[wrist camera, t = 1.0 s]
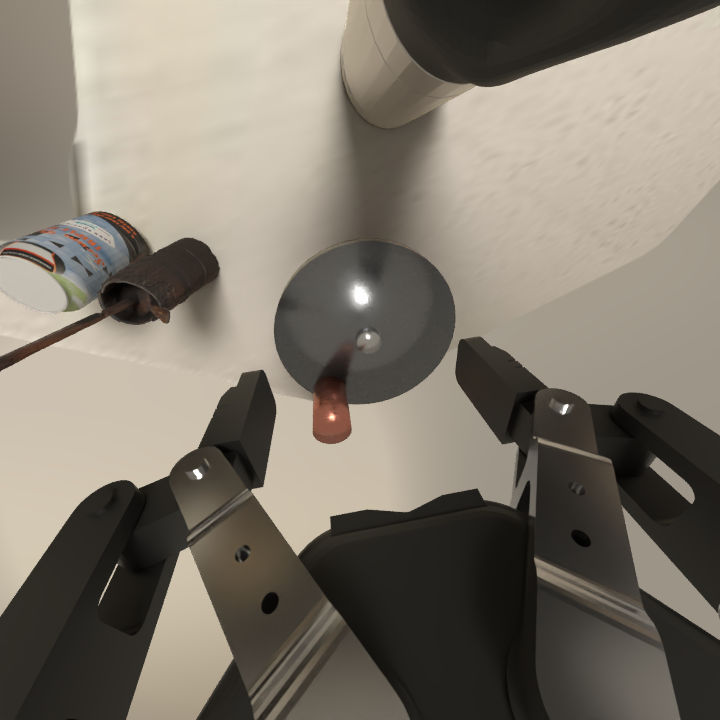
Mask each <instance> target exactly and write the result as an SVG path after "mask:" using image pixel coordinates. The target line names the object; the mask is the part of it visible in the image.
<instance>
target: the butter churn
mask: <svg viewBox="0 0 720 720" xmlns="http://www.w3.org/2000/svg"><path fill="white" fill-rule="evenodd" d="M217 264H218V262H217V260H216V257H215V256H214V255H213V254H212V252H211V250H210V248H209V247H208V246H207V245H206V244H204V243H203V242H201V241H198V240H196V239H193V238H183V239H180V240H178V241H176V242H174V243H172V244H170V245H169V246H167V247H165V248H163V249H160V250H158V251H157V252H155V253H154V254H153V255H148V256H144V257H142V258H140V259H138V260H137V261H136V262H133V263H132V264H129V265H128V266H126V267H125V268H123V269H121V270H119V271H118V272H117V273H115V274H114V275H112V276H111V277H109V278H108V279H107V280H106V281H105V282H104V283H103V284H102V288H101V289H100V291H98V292H97V294H98V296H99V302H100V306H101V308H102V309H103V310H102V313H95V314H93V315H90V316H88V317H86V318H84V319H82V320H80V321H77V322H75V323H73V324H71V325H69V326H66V327H64V328H62V329H60V330H58V331H56V332H53V333H51V334H49V335H47V336H45V337H43V338H41V339H38V340H36V341H34V342H32V343H30V344H27V345H25V346H23V347H21V348H19V349H17V350H14V351H12V352H10V353H8V354H5V355H3V356H1V357H0V371H1V370H3V369H5V368H7V367H9V366H12V365H13V364H15V363H17V362H19V361H21V360H23V359H24V358H26V357H28V356H30V355H32V354H34V353H35V352H38V351H40V350H41V349H44V348H46V347H48V346H50V345H52V344H54V343H56V342H59V341H60V340H62V339H64V338H66V337H69V336H70V335H73V334H75V333H77V332H78V331H81V330H82V329H84V328H87V327H89V326H91V325H93V324H95V323H97V322H99V321H101V320H102V319H104V318H106V317H108V316H111V317H112V318H113V319H115V320H117V321H119V322H124V323H127V324H133V325H140V324H145V323H147V322H150V321H151V320H152V321H156V320H157V319H158V318H159V319H160V320H161V321H162V322H163V323H166V324H167V323H169V320H170V311H169V310H172V309H173V308H174V307H176V306H177V305H178V304H181V303H183V302H184V301H185V300H186V299H187V298H188V297H189V296H190V295H191V294H193V293H194V292H195V291H197V290H199V289H200V288H202V287H203V286H205V285H206V284H208V283H210V282H211V281H213V280H214V279H215V278H216V276H217V274H218V271H219V269H220V268H219V267H218V266H217Z"/></svg>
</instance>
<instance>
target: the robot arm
mask: <svg viewBox="0 0 720 720" xmlns="http://www.w3.org/2000/svg"><path fill="white" fill-rule="evenodd" d="M719 5H720V0H350V3H349V8H348V13H347V18H346V23H345V29H344V35H343V40H342V46H341V69H342V77H343V81H344V85H345V88H346V92H347V94H348V96H349V99H350V101H351V103H352V105H353V106H354V108H355V109H356V110H357V112H358V113H359V114H360V115H361V116H362V117H363V118H364V119H365V120H366V121H367V122H369V123H371V124H373V125H375V126H377V127H381V128H396V127H399V126H402V125H405V124H406V123H408V122H410V121H412V120H414V119H416V118H418V117H420V116H422V115H423V114H425V113H427V112H429V111H431V110H433V109H435V108H436V107H438V106H440V105H442V104H444V103H446V102H448V101H449V100H451V99H453V98H455V97H457V96H459V95H461V94H462V93H464V92H466V91H468V90H470V89H472V88H473V87H475V86H481V87H494V86H499V85H503V84H506V83H509V82H512V81H514V80H517V79H519V78H522V77H524V76H527V75H529V74H532V73H535V72H538V71H541V70H544V69H546V68H549V67H552V66H555V65H558V64H561V63H564V62H567V61H570V60H573V59H576V58H579V57H582V56H585V55H588V54H591V53H594V52H597V51H600V50H603V49H606V48H609V47H612V46H615V45H618V44H621V43H624V42H627V41H630V40H632V39H635V38H637V37H640V36H643V35H645V34H648V33H651V32H653V31H656V30H659V29H661V28H664V27H667V26H669V25H672V24H675V23H677V22H680V21H682V20H685V19H688V18H690V17H693V16H695V15H698V14H700V13H702V12H705V11H707V10H710V9H712V8H715V7H717V6H719ZM455 373H456V379H457V382H458V384H459V385H460V387H461V388H462V390H463V391H464V392H465V394H466V395H467V396H468V398H469V399H470V401H471V402H472V403H473V405H474V406H475V408H476V409H477V410H478V412H479V413H480V414H481V416H482V417H483V419H484V420H485V421H486V423H487V424H488V425H489V427H490V428H491V430H492V431H493V432H494V434H495V435H496V436H497V438H498V439H499V441H500V442H501V443H502V444H507V443H512V442H516V444H517V445H518V446H519V447H518V450H517V453H516V462H515V471H514V480H513V489H512V490H513V491H512V497H511V502H510V506H507V505H504V504H501V503H497V502H492V501H486V500H483V498H482V496H481V495H480V493H479V491H478V489H472V490H467V491H462V492H457V493H452V494H446V495H442V496H440V497H438V498H436V499H434V500H432V501H430V502H428V503H426V504H424V505H422V506H421V507H418V508H417V509H414V510H412V511H410V512H393V511H392V512H391V511H380V510H379V511H378V510H363V511H357V512H352V513H347V514H342V515H336V516H331V517H330V519H331V529H330V530H328V531H326V532H324V533H322V534H321V535H320V536H318V537H317V538H315V539H314V540H313V541H312V542H311V543H309V544H308V545H307V546H306V547H305V548H304V549H303V550H302V551H301V552H300V554H299V555H298V556H297V555H296V554H295V552H294V551H293V550H292V548H291V547H290V545H289V544H288V543H287V541H286V540H285V539H284V537H283V536H282V534H281V533H280V532H279V530H278V529H277V527H276V526H275V524H274V523H273V522H272V520H271V519H270V517H269V516H268V514H267V513H266V512H265V510H264V509H263V508H262V506H261V505H260V503H259V502H258V500H257V499H256V498H255V496H254V495H253V493H252V492H251V490H252V489H254V488H260V487H263V485H264V479H265V474H266V468H267V462H268V457H269V451H270V445H271V439H272V434H273V429H274V423H275V417H276V404H275V399H274V396H273V394H272V391H271V388H270V385H269V382H268V380H267V377H266V374H265V372H264V371H263V370H258V371H251V372H245V373H242V375H241V377H240V380H239V382H238V385H237V387H231V388H230V389H229V390H228V391H227V392H226V393H225V394H224V395H223V396H222V397H221V399H220V401H219V403H218V405H217V409H216V410H215V412H214V414H213V418H212V419H211V421H210V423H209V425H208V427H207V430H206V432H205V434H204V437H203V438H202V441H201V443H200V445H199V447H198V449H196V450H194V451H192V452H190V453H188V454H187V455H185V456H184V457H183V458H181V459H180V460H179V461H178V462H177V463H176V464H175V466H174V467H173V469H172V470H171V472H170V475H169V476H167V477H165V478H163V479H160V480H158V481H155V482H153V483H151V484H148V485H146V486H144V487H141V488H139V489H138V488H137V487H136V486H135V485H134V484H133V483H132V482H130V481H127V480H121V481H116V482H112V483H110V484H107V485H105V486H103V487H102V488H100V489H98V490H97V491H95V492H94V493H92V494H90V495H89V496H88V497H87V498H86V499H85V500H83V501H82V502H81V503H80V504H79V505H78V506H77V508H76V509H75V510H74V512H73V513H72V514H71V516H70V517H69V519H68V520H67V521H66V523H65V524H64V526H63V527H62V529H61V530H60V531H59V533H58V534H57V536H56V537H55V539H54V540H53V542H52V543H51V544H50V546H49V547H48V549H47V550H46V552H45V553H44V555H43V556H42V558H41V559H40V560H39V562H38V563H37V565H36V566H35V568H34V569H33V570H32V572H31V573H30V575H29V576H28V578H27V579H26V581H25V582H24V584H23V585H22V586H21V588H20V589H19V591H18V592H17V594H16V595H15V596H14V598H13V599H12V601H11V602H10V604H9V605H8V607H7V608H6V609H5V611H4V613H3V614H2V615H1V617H0V720H126V717H127V714H128V711H129V708H130V705H131V702H132V699H133V696H134V693H135V690H136V686H137V683H138V680H139V677H140V674H141V671H142V668H143V664H144V662H145V658H146V655H147V652H148V649H149V646H150V643H151V640H152V637H153V634H154V630H155V627H156V624H157V621H158V618H159V615H160V612H161V609H162V606H163V603H164V599H165V596H166V593H167V590H168V587H169V584H170V581H171V578H172V575H173V572H174V568H175V565H176V562H177V559H178V556H179V552H180V551H182V550H184V549H186V548H187V547H189V548H190V550H191V553H192V555H193V557H194V560H195V562H196V565H197V567H198V570H199V572H200V575H201V577H202V580H203V582H204V585H205V587H206V590H207V592H208V595H209V597H210V600H211V602H212V605H213V607H214V609H215V612H216V615H217V617H218V619H219V622H220V625H221V627H222V630H223V632H224V634H225V637H226V639H227V642H228V644H229V647H230V649H231V652H232V654H233V657H234V659H233V660H232V662H231V664H230V665H229V667H228V669H227V670H226V672H225V674H224V675H223V677H222V678H221V680H220V681H219V683H218V685H217V686H216V688H215V690H214V691H213V693H212V695H211V696H210V698H209V700H208V701H207V703H206V704H205V706H204V708H203V709H202V711H201V713H200V714H199V716H198V717H197V719H196V720H720V640H718V639H717V638H715V637H714V636H712V635H711V634H709V633H708V632H706V631H705V630H703V629H702V628H700V627H699V626H697V625H695V624H694V623H692V622H691V621H689V620H688V619H686V618H685V617H683V616H682V615H680V614H679V613H677V612H676V611H674V610H673V609H671V608H669V607H668V606H666V605H665V604H663V603H662V602H660V601H659V600H657V599H656V598H654V597H653V596H651V595H650V594H648V593H646V592H645V591H643V590H642V589H640V588H639V587H638V582H637V577H636V572H635V567H634V563H633V558H632V553H631V548H630V544H629V539H628V534H627V530H626V525H625V520H624V515H623V511H622V506H623V507H624V508H625V510H626V511H627V512H628V513H629V514H630V515H631V516H632V517H633V518H634V520H635V521H636V522H637V523H638V524H639V525H640V526H641V527H642V529H643V530H644V531H645V532H646V533H647V534H648V535H649V536H650V538H651V539H652V540H653V541H654V542H655V543H656V544H657V545H658V547H659V548H660V549H661V550H662V551H663V552H664V553H665V554H666V555H667V556H668V558H669V559H670V560H671V561H672V562H673V563H674V564H675V566H676V567H677V568H678V569H679V570H680V571H681V572H682V573H683V575H684V576H685V577H686V578H687V579H688V580H689V581H690V582H691V583H692V585H693V586H694V587H695V588H696V589H697V590H698V591H699V592H700V594H701V595H702V596H703V597H704V598H705V599H706V600H707V601H708V602H709V604H710V605H711V606H712V607H713V608H714V609H715V610H716V612H717V613H718V614H719V618H720V436H719V435H718V434H717V433H715V432H713V431H712V430H710V429H709V428H707V427H706V426H704V425H703V424H701V423H700V422H698V421H697V420H695V419H693V418H692V417H690V416H689V415H687V414H686V413H684V412H683V411H681V410H680V409H678V408H677V407H675V406H674V405H672V404H670V403H669V402H667V401H665V400H662V399H660V398H657V397H654V396H651V395H647V394H643V393H625V394H622V395H620V396H619V398H618V399H617V401H616V403H615V405H614V406H612V405H596V404H587V402H586V401H585V400H584V399H582V398H581V397H580V396H578V395H576V394H574V393H572V392H568V391H566V390H562V389H557V388H548V387H547V386H545V385H544V384H543V383H542V382H541V381H540V380H538V379H537V378H536V377H535V376H534V375H533V374H532V373H530V372H529V371H528V370H527V369H526V368H525V367H522V365H521V364H520V363H518V361H515V359H514V358H513V357H512V356H511V355H510V354H508V353H507V352H506V351H503V350H501V349H499V348H497V347H495V346H493V347H492V346H490V345H489V344H488V343H487V342H486V341H485V340H484V339H483V338H482V337H473V338H467V339H461V340H460V341H459V344H458V354H457V361H456V371H455ZM656 457H658V458H659V459H660V460H662V461H663V462H664V463H665V464H666V465H667V466H668V467H670V468H671V469H672V470H673V471H674V472H676V473H677V474H678V475H679V476H680V477H682V478H683V479H684V480H685V481H686V482H687V483H688V484H689V485H690V487H691V488H692V490H693V492H694V495H695V500H694V502H693V504H691V503H690V502H688V501H687V500H686V499H685V498H684V497H683V496H682V495H681V494H680V493H678V492H677V491H676V490H675V489H674V488H673V487H672V486H671V485H669V484H668V483H667V482H666V481H665V480H664V479H663V478H662V477H660V476H659V475H658V474H657V473H656V472H655V471H654V470H653V469H652V468H650V467H649V466H650V465H651V463H652V462H653V461H654V459H655V458H656ZM621 505H622V506H621ZM116 564H118V566H117V568H116V570H115V572H114V575H113V577H112V579H111V581H110V583H109V585H108V587H107V589H106V592H105V593H104V596H103V598H102V600H101V602H100V604H99V601H100V598H101V595H102V593H103V591H104V589H105V587H106V585H107V583H108V581H109V578H110V576H111V574H112V572H113V570H114V568H115V566H116ZM98 604H99V606H98Z"/></svg>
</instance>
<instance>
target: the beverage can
mask: <svg viewBox="0 0 720 720" xmlns="http://www.w3.org/2000/svg"><path fill="white" fill-rule="evenodd" d="M144 256H148V251H147V247H146V244H145V242H144V240H143V238H142V237H141V236H140V234H139V233H138V232H137V231H136V230H135V228H133V227H132V226H131V225H130V224H129V223H127V222H126V221H125V220H123V219H121V218H120V217H118V216H116V215H113V214H110V213H107V212H100V211H99V212H92V213H89V214H86V215H83V216H80V217H78V218H75V219H72V220H69V221H66V222H64V223H60V224H58V225H55V226H52V227H49V228H46V229H43V230H41V231H38V232H35V233H32V234H29V235H26V236H23V237H21V238H18V239H15V240H12V241H9V242H6V243H3V244H2V245H0V291H1V292H2V293H4V294H5V295H6V296H7V297H9V298H10V299H12V300H13V301H15V302H17V303H18V304H20V305H22V306H24V307H26V308H29V309H31V310H34V311H37V312H41V313H47V314H56V313H60V312H69V311H75V310H79V309H81V308H83V307H85V306H86V305H87V304H89V303H90V302H92V301H93V300H95V299H96V298H98V297H99V296H98V294H97V292H98V291H100V289H101V288H102V284H103V283H104V282H105V281H106V280H107V279H108V278H109V277H111V276H112V275H114V274H115V273H117V272H118V271H119V270H121V269H123V268H125V267H126V266H128V265H129V264H132V263H133V262H136V261H137V260H138V259H140V258H142V257H144Z"/></svg>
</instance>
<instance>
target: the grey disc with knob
mask: <svg viewBox="0 0 720 720" xmlns="http://www.w3.org/2000/svg"><path fill="white" fill-rule="evenodd" d="M454 328H455V306H454V301H453V296H452V294H451V291H450V289H449V286H448V284H447V283H446V281H445V279H444V277H443V276H442V275H441V273H440V272H439V271H438V270H437V269H436V267H435V266H433V265H432V264H431V263H430V262H429V261H428V260H427V259H425V258H424V257H423V256H422V255H420V254H419V253H417V252H416V251H414V250H412V249H411V248H409V247H406V246H404V245H402V244H399V243H396V242H392V241H388V240H382V239H374V238H372V239H356V240H350V241H345V242H342V243H339V244H336V245H333V246H331V247H329V248H326V249H324V250H322V251H320V252H319V253H317V254H316V255H314V256H313V257H311V258H310V259H309V260H307V261H306V262H305V263H304V264H303V265H302V266H301V267H300V268H299V269H298V270H297V271H296V272H295V274H294V275H293V276H292V277H291V279H290V280H289V282H288V283H287V285H286V287H285V289H284V291H283V293H282V295H281V298H280V301H279V304H278V308H277V312H276V316H275V323H274V338H275V344H276V349H277V352H278V354H279V357H280V360H281V361H282V363H283V365H284V367H285V369H286V370H287V371H288V373H289V374H290V375H291V376H292V377H293V378H294V379H295V380H296V382H297V383H299V384H300V385H301V386H302V387H304V388H305V389H306V390H308V391H310V392H311V393H313V435H314V437H315V438H316V439H317V440H318V441H320V442H322V443H327V444H335V443H339V442H342V441H344V440H345V439H347V437H349V435H350V434H351V421H350V414H349V407H348V404H370V403H376V402H381V401H385V400H388V399H391V398H394V397H396V396H399V395H401V394H403V393H405V392H407V391H409V390H410V389H412V388H413V387H415V386H417V385H418V384H419V383H420V382H422V381H423V380H424V379H425V378H427V377H428V376H429V375H430V374H431V373H432V372H433V371H434V369H435V368H436V367H437V366H438V365H439V363H440V362H441V360H442V359H443V357H444V356H445V354H446V352H447V350H448V348H449V345H450V343H451V340H452V337H453V332H454Z"/></svg>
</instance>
